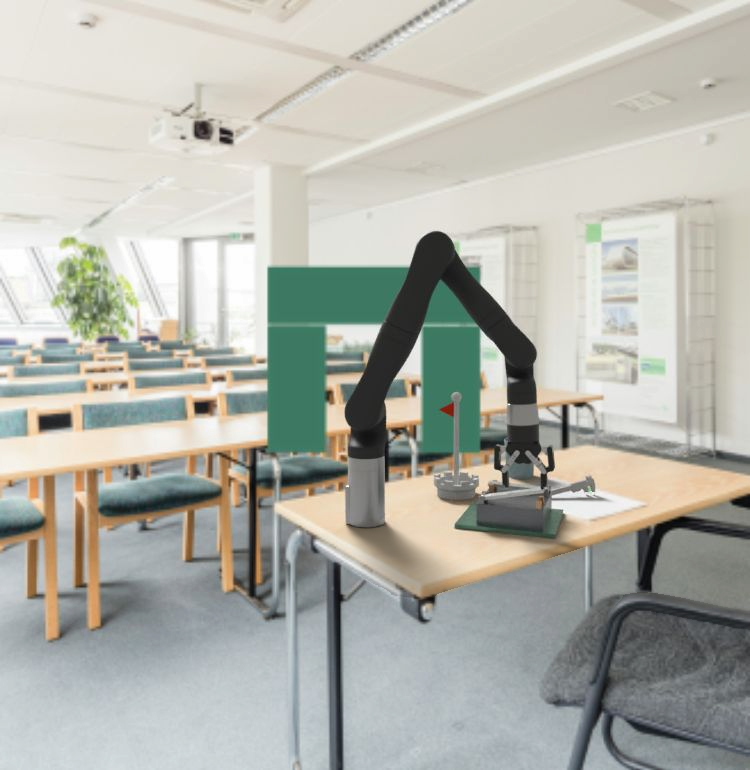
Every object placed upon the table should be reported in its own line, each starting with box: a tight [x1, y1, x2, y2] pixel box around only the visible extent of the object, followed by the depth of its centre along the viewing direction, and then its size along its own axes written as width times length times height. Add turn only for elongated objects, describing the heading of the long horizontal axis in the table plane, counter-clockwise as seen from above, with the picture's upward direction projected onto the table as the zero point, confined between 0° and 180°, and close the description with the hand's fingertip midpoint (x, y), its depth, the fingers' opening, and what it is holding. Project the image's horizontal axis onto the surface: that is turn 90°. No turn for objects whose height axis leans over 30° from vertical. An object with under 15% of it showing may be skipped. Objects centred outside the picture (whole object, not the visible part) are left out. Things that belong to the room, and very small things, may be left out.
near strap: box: [481, 486, 545, 500], centre depth 166 cm, size 16×3×1 cm, turn 68°
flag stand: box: [433, 391, 480, 501], centre depth 195 cm, size 13×13×30 cm
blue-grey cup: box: [503, 437, 535, 480], centre depth 217 cm, size 10×10×12 cm
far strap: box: [487, 480, 550, 490], centre depth 177 cm, size 16×3×1 cm, turn 70°
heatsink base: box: [454, 479, 565, 540], centre depth 171 cm, size 24×21×8 cm
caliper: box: [551, 474, 596, 496], centre depth 192 cm, size 20×1×6 cm, turn 101°
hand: (524, 487), depth 164 cm, fingers open, 8 cm apart
